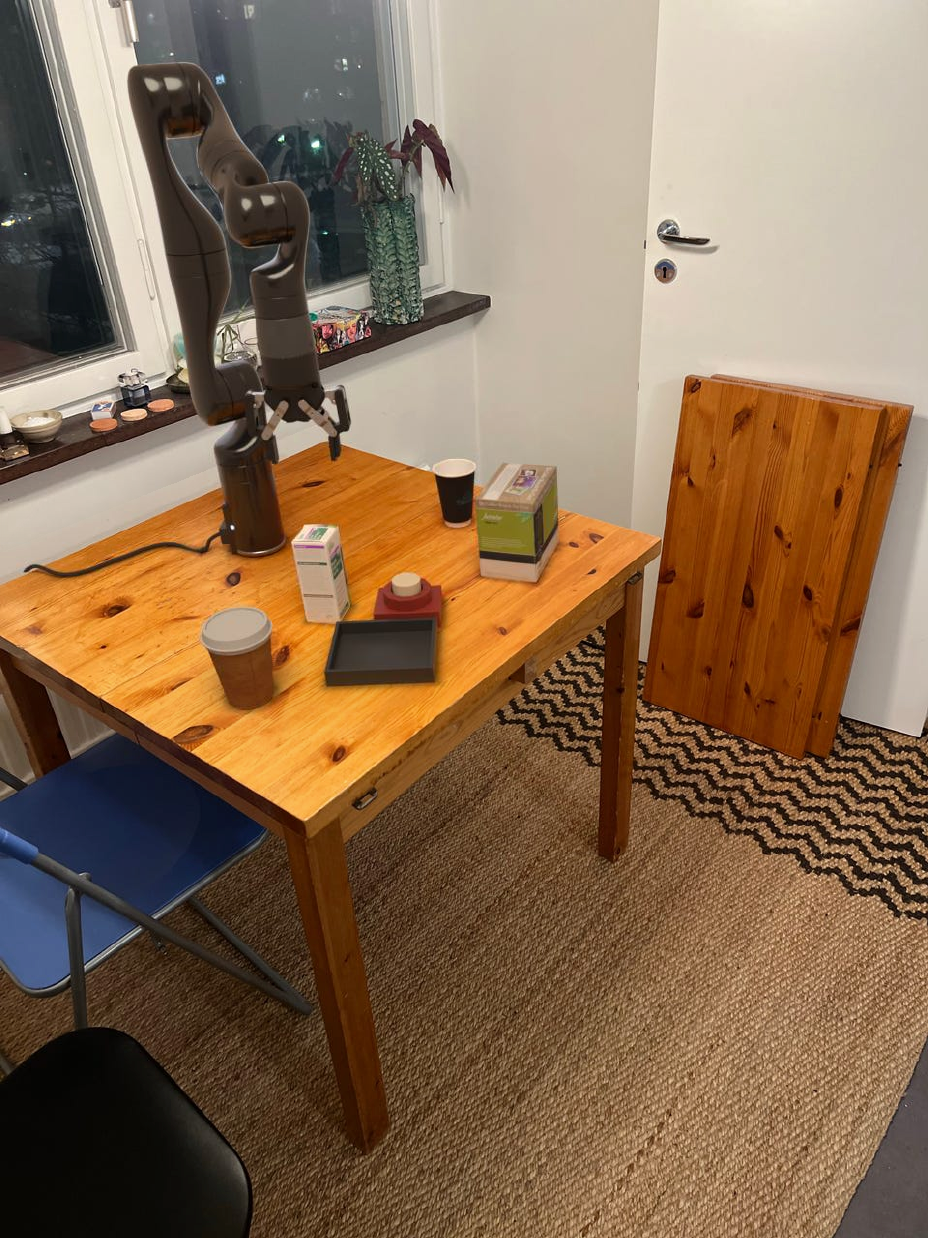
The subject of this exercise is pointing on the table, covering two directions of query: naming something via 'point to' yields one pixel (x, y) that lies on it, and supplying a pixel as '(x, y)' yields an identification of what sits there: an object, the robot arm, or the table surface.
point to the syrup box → (321, 573)
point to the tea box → (517, 522)
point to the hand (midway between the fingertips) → (305, 460)
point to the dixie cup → (455, 490)
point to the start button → (406, 584)
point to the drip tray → (382, 652)
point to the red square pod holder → (409, 603)
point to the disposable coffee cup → (241, 654)
